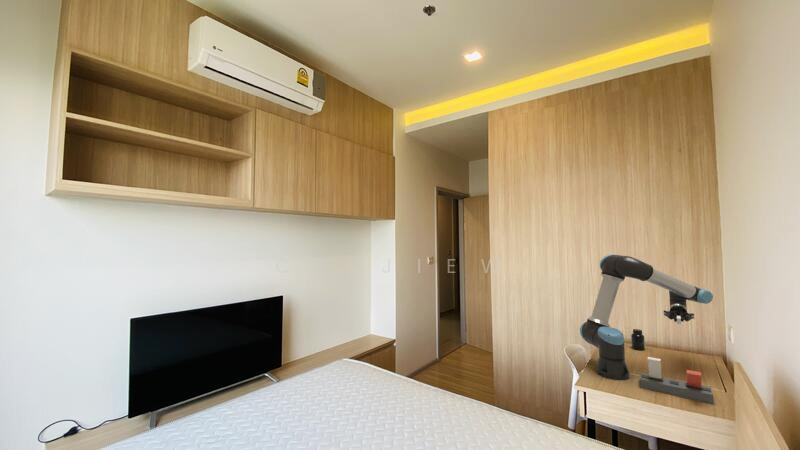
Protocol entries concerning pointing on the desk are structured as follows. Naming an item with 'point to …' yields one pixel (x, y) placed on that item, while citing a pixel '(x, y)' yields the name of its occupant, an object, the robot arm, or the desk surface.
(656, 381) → the grey slotted base
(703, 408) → the desk surface
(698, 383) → the red upright block
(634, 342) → the supplement bottle
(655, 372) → the white rocker
